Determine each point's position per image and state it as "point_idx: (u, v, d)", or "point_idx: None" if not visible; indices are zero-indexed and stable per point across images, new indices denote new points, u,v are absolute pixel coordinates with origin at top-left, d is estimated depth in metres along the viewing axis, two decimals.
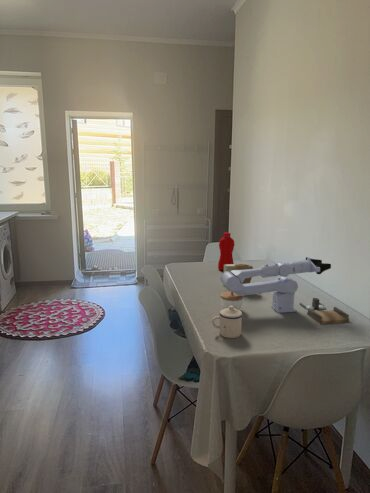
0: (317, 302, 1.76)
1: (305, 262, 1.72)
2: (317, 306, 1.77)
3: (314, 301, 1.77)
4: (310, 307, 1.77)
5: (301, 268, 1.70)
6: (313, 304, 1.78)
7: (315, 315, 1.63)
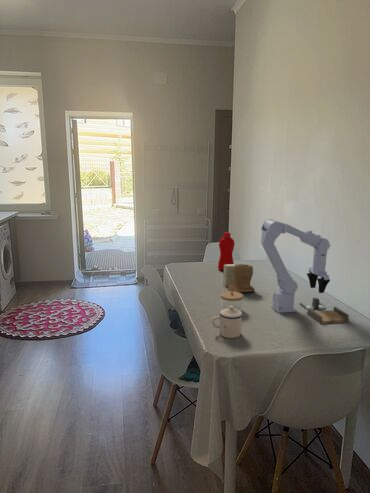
0: (317, 302, 1.76)
1: None
2: (317, 306, 1.77)
3: (314, 301, 1.77)
4: (310, 307, 1.77)
5: (322, 263, 1.71)
6: (313, 304, 1.78)
7: (315, 315, 1.63)
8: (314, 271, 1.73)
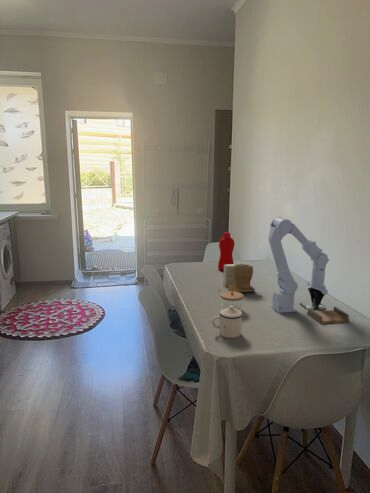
0: None
1: (323, 281, 1.75)
2: (317, 306, 1.77)
3: (314, 301, 1.77)
4: (310, 307, 1.77)
5: (321, 277, 1.72)
6: (313, 304, 1.78)
7: (315, 315, 1.63)
8: (313, 285, 1.74)
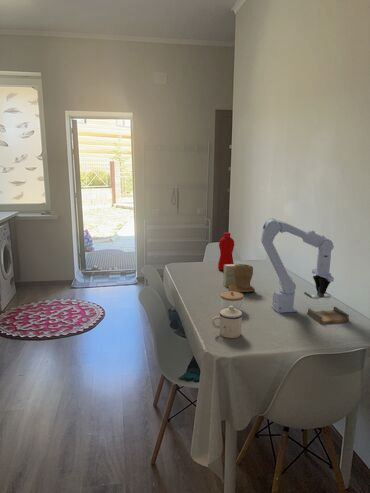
0: None
1: (329, 269, 1.69)
2: (322, 295, 1.72)
3: (319, 290, 1.72)
4: (315, 296, 1.72)
5: (325, 264, 1.67)
6: (318, 292, 1.73)
7: (315, 315, 1.63)
8: (318, 273, 1.69)
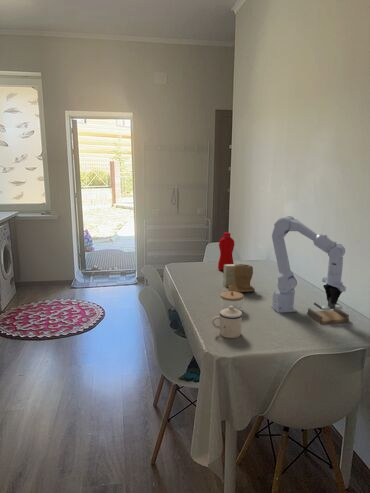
0: None
1: None
2: (333, 306, 1.62)
3: (330, 300, 1.62)
4: (326, 307, 1.62)
5: (333, 272, 1.58)
6: (329, 303, 1.63)
7: (315, 315, 1.63)
8: (329, 282, 1.60)
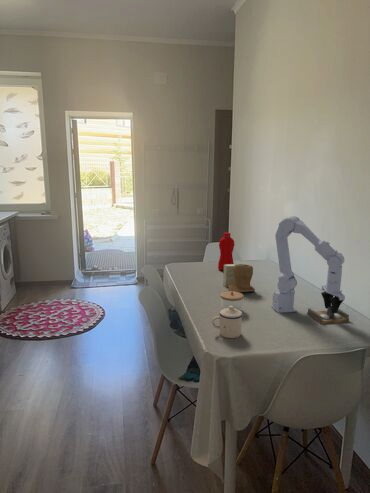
0: None
1: None
2: (332, 315, 1.63)
3: (329, 309, 1.63)
4: (325, 316, 1.63)
5: (332, 281, 1.58)
6: (328, 312, 1.64)
7: (315, 315, 1.63)
8: (328, 290, 1.60)
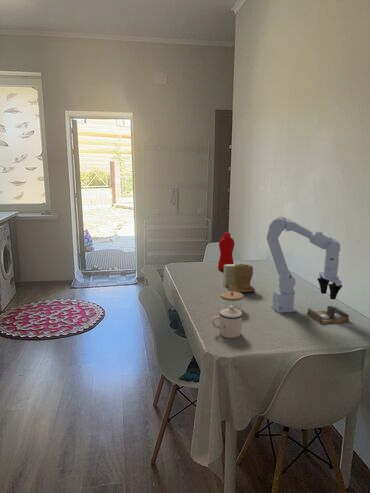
0: (332, 311, 1.62)
1: None
2: (332, 315, 1.63)
3: (329, 309, 1.63)
4: (325, 316, 1.63)
5: (331, 267, 1.62)
6: (328, 312, 1.64)
7: (315, 315, 1.63)
8: (325, 276, 1.64)
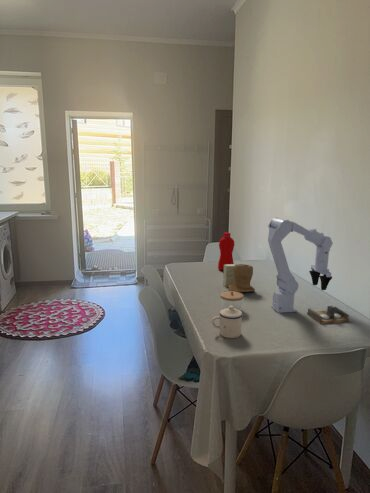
0: (332, 311, 1.62)
1: (327, 265, 1.77)
2: (332, 315, 1.63)
3: (329, 309, 1.63)
4: (325, 316, 1.63)
5: (325, 260, 1.74)
6: (328, 312, 1.64)
7: (315, 315, 1.63)
8: (316, 268, 1.76)
